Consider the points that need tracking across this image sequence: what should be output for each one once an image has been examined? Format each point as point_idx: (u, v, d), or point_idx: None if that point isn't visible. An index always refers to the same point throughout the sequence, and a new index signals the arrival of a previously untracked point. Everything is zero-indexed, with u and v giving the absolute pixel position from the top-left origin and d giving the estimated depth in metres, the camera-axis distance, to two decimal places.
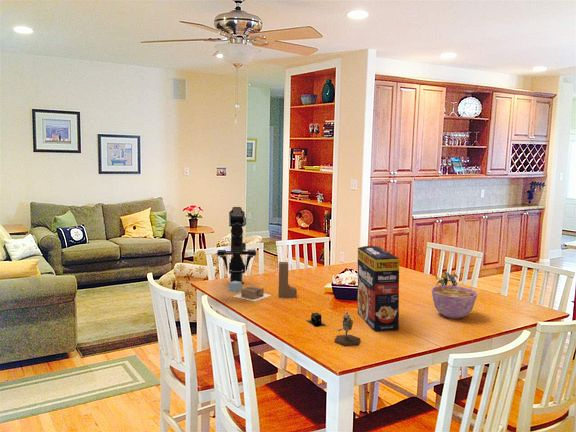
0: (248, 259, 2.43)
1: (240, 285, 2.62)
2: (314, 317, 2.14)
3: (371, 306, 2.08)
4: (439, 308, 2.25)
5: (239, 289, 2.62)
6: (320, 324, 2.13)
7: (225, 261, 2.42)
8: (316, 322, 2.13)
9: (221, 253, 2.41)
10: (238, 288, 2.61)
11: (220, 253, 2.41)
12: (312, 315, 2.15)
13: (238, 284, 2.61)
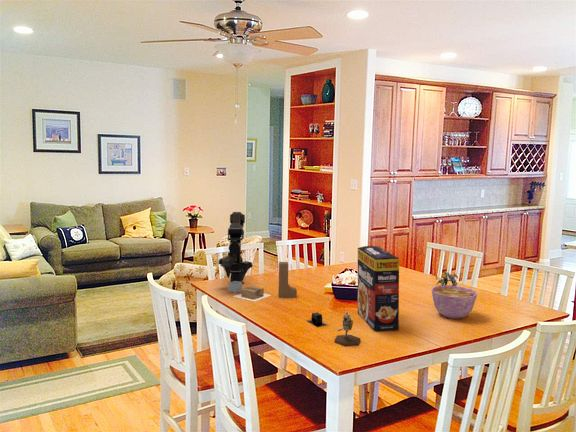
0: (241, 271, 2.57)
1: (240, 285, 2.62)
2: (315, 317, 2.14)
3: (371, 306, 2.08)
4: (439, 308, 2.25)
5: (239, 289, 2.62)
6: (321, 324, 2.14)
7: (225, 269, 2.64)
8: (317, 322, 2.14)
9: (220, 262, 2.63)
10: (238, 288, 2.61)
11: (220, 262, 2.63)
12: (313, 315, 2.15)
13: (238, 284, 2.61)
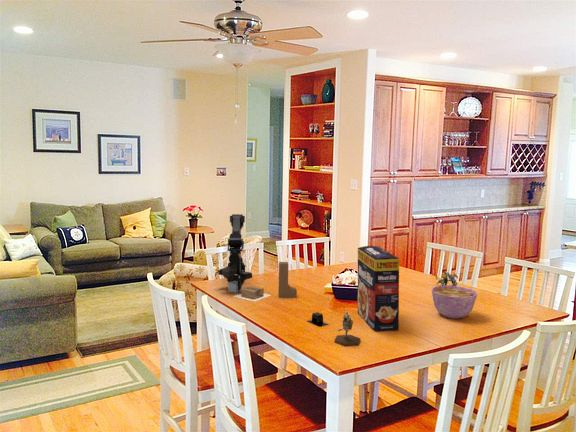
0: (238, 281, 2.59)
1: None
2: (316, 317, 2.14)
3: (371, 306, 2.08)
4: (439, 308, 2.25)
5: None
6: (322, 323, 2.14)
7: (228, 280, 2.63)
8: (318, 322, 2.14)
9: (220, 273, 2.63)
10: None
11: (220, 273, 2.64)
12: (313, 315, 2.15)
13: None
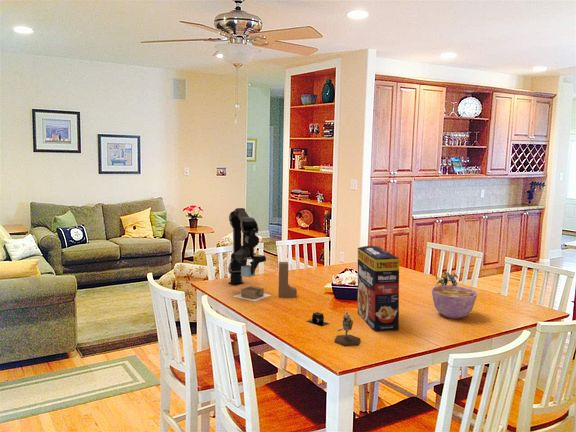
0: (252, 264, 2.49)
1: None
2: (317, 317, 2.14)
3: (371, 306, 2.08)
4: (439, 308, 2.25)
5: None
6: (324, 323, 2.15)
7: (241, 264, 2.54)
8: (320, 321, 2.14)
9: (233, 257, 2.54)
10: None
11: (232, 257, 2.54)
12: (314, 315, 2.15)
13: None
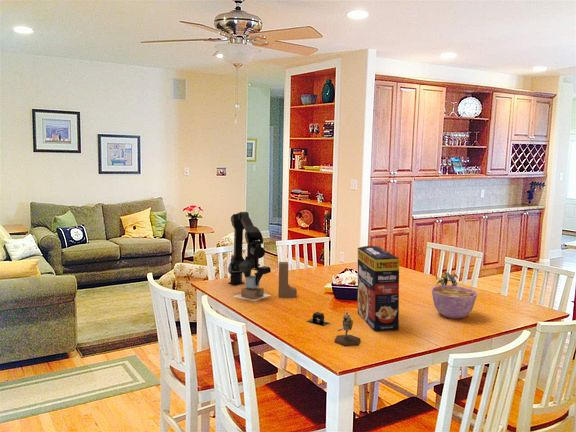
0: (256, 276, 2.48)
1: None
2: (318, 317, 2.14)
3: (371, 306, 2.08)
4: (439, 308, 2.25)
5: None
6: (324, 323, 2.15)
7: (245, 275, 2.52)
8: (320, 321, 2.14)
9: (237, 267, 2.53)
10: None
11: (236, 267, 2.53)
12: (315, 315, 2.16)
13: None
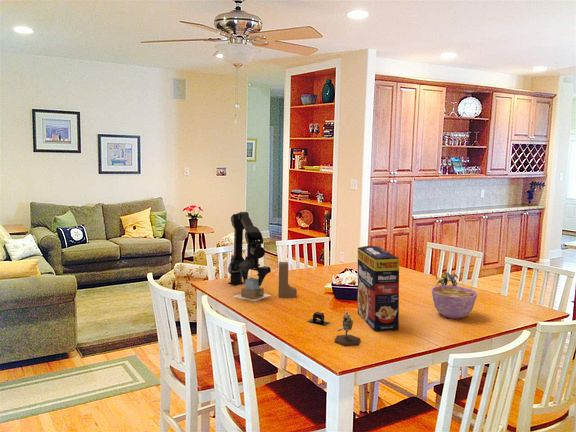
0: (259, 276, 2.47)
1: None
2: (319, 316, 2.15)
3: (371, 306, 2.08)
4: (439, 308, 2.25)
5: (257, 286, 2.51)
6: (325, 322, 2.16)
7: (242, 275, 2.53)
8: (321, 321, 2.15)
9: (237, 267, 2.53)
10: (256, 285, 2.51)
11: (236, 267, 2.53)
12: (315, 315, 2.16)
13: (256, 281, 2.50)
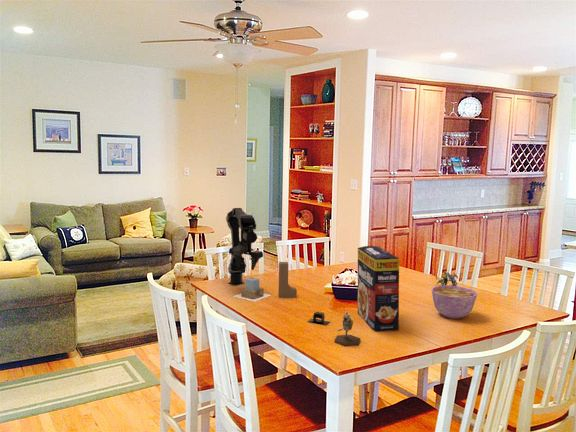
0: (252, 260, 2.55)
1: (258, 282, 2.52)
2: (319, 316, 2.15)
3: (371, 306, 2.08)
4: (439, 308, 2.25)
5: (257, 286, 2.51)
6: (325, 322, 2.16)
7: (236, 259, 2.62)
8: (322, 321, 2.15)
9: (231, 252, 2.61)
10: (256, 285, 2.51)
11: (230, 252, 2.61)
12: (315, 315, 2.16)
13: (256, 281, 2.50)
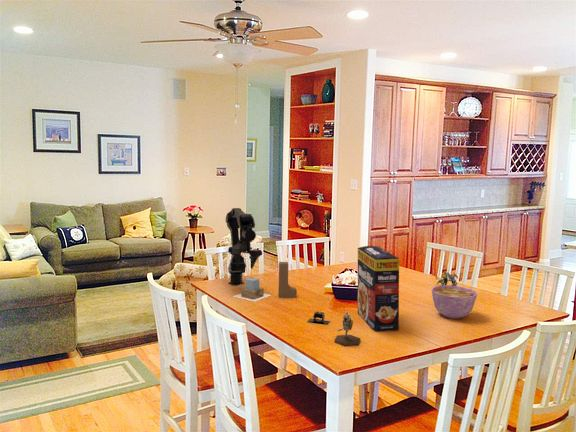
0: (251, 259, 2.56)
1: (258, 282, 2.52)
2: (320, 316, 2.15)
3: (371, 306, 2.08)
4: (439, 308, 2.25)
5: (257, 286, 2.51)
6: (325, 321, 2.17)
7: (235, 258, 2.63)
8: (322, 320, 2.16)
9: (230, 251, 2.62)
10: (256, 285, 2.51)
11: (229, 250, 2.63)
12: (316, 315, 2.16)
13: (256, 281, 2.50)
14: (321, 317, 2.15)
